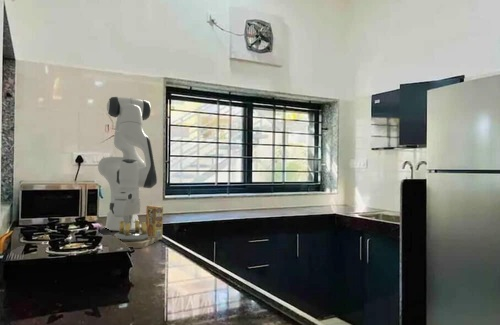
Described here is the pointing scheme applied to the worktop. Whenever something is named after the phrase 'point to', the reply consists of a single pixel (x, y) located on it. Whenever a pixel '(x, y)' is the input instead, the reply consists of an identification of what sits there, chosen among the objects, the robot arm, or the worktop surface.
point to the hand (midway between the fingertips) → (127, 225)
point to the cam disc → (132, 232)
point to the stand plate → (141, 242)
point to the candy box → (154, 221)
